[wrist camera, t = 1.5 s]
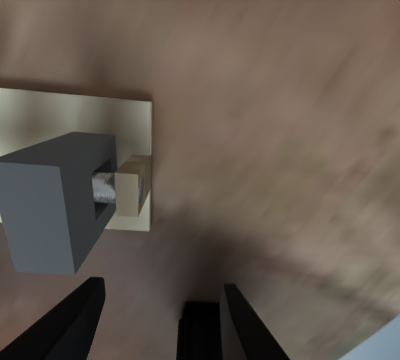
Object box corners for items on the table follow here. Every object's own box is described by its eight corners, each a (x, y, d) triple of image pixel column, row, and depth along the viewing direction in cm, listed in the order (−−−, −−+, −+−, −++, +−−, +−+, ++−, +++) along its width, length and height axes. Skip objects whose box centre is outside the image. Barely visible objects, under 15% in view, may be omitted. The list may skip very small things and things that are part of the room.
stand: (152, 101, 17) (136, 105, 12) (150, 226, 21) (138, 265, 16) (-106, 77, 16) (-230, 72, 11) (-55, 213, 20) (-131, 251, 15)
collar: (115, 135, 17) (59, 166, 10) (118, 206, 19) (75, 274, 12) (73, 131, 16) (-15, 161, 9) (81, 204, 19) (15, 271, 12)
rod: (145, 167, 16) (137, 180, 14) (144, 198, 17) (137, 214, 14) (-132, 146, 15) (-189, 156, 13) (-116, 180, 16) (-168, 195, 13)
